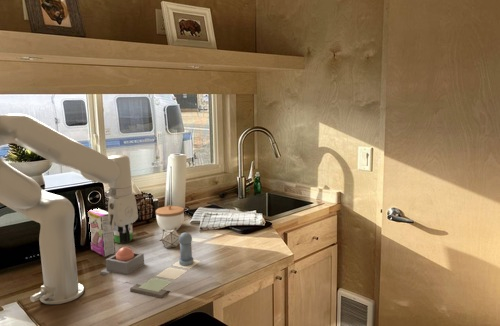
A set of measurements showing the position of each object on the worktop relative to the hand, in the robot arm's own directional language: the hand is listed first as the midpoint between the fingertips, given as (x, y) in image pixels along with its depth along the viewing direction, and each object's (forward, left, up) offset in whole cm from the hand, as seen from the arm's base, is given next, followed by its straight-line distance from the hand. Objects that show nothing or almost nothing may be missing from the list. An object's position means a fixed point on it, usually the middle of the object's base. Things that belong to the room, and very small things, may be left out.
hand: (125, 242), depth 144 cm
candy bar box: (+10, +20, -10) cm, 25 cm away
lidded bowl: (+43, +11, -10) cm, 45 cm away
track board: (+2, -18, -10) cm, 21 cm away
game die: (+23, -3, -10) cm, 25 cm away
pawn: (+11, -18, -9) cm, 23 cm away
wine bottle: (+23, +21, -10) cm, 33 cm away
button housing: (0, 0, -10) cm, 10 cm away
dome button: (0, 0, -7) cm, 7 cm away
